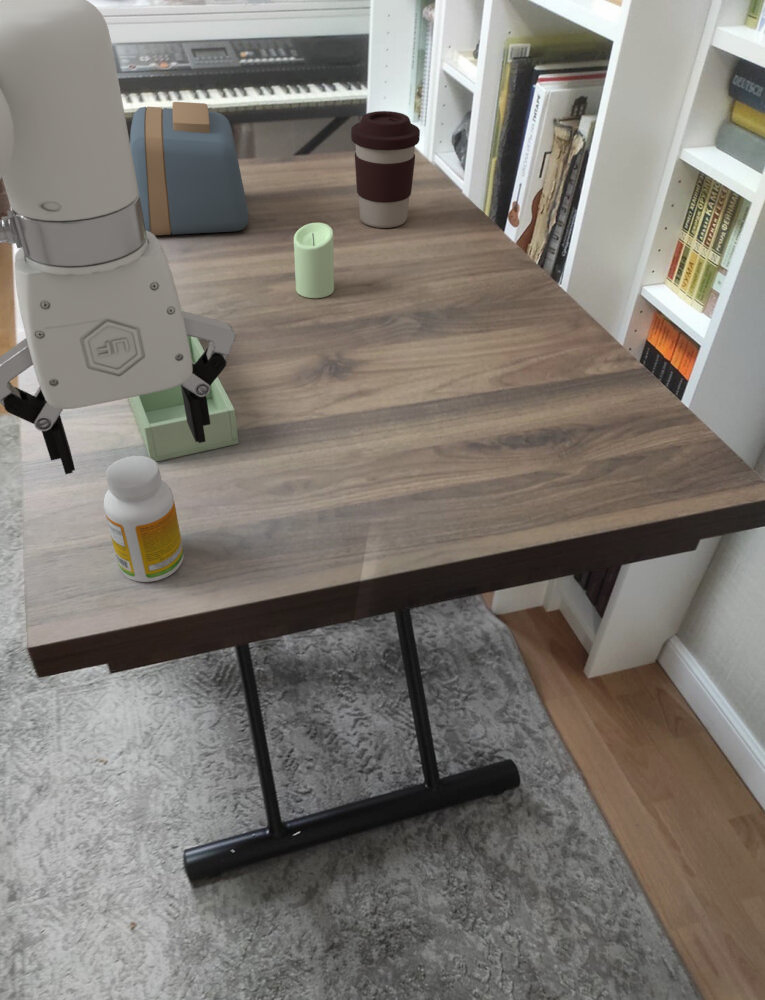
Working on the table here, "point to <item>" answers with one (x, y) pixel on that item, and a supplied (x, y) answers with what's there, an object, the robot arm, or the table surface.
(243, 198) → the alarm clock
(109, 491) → the supplement bottle
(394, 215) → the coffee cup
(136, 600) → the table surface
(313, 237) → the candle
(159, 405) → the tray
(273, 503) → the table surface
